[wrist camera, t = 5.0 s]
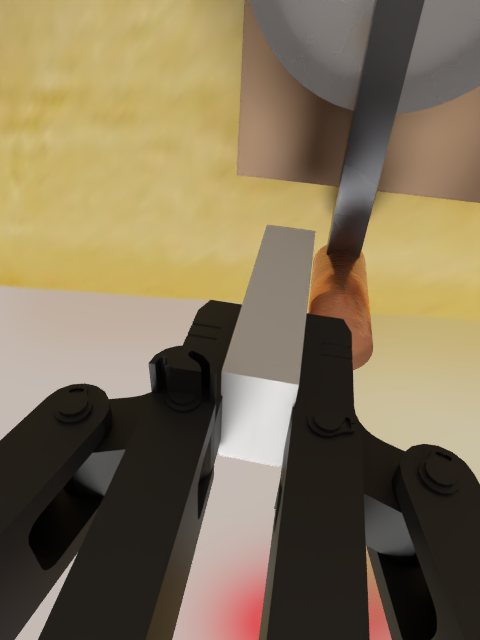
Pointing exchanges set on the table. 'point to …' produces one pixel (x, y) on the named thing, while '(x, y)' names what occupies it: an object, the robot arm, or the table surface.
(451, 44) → the handwheel
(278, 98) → the mount board
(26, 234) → the table surface
